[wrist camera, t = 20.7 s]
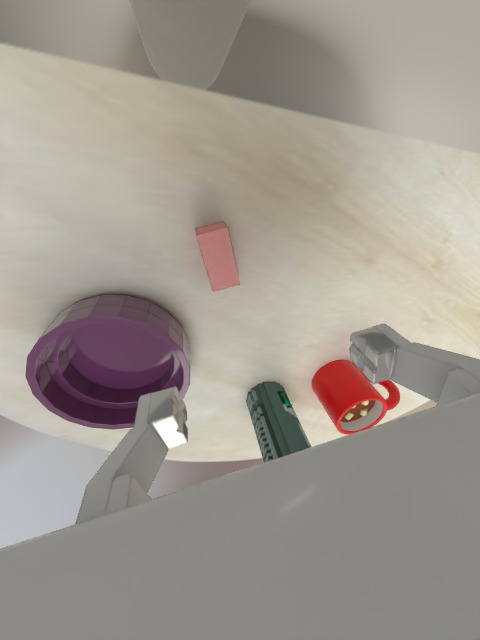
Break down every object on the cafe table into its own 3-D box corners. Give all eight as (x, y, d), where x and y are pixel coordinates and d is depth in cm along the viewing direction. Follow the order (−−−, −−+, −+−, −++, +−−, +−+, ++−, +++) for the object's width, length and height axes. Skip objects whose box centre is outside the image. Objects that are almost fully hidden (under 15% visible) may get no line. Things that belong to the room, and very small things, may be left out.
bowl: (18, 314, 27) (-16, 345, 22) (163, 275, 28) (160, 297, 23) (93, 407, 35) (80, 443, 30) (202, 375, 36) (206, 405, 31)
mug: (374, 382, 45) (407, 419, 39) (311, 399, 44) (334, 440, 37) (381, 349, 41) (420, 383, 34) (312, 366, 40) (338, 406, 33)
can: (278, 407, 43) (319, 505, 31) (244, 409, 42) (272, 514, 29) (286, 381, 40) (336, 478, 28) (250, 382, 39) (285, 485, 26)
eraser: (194, 228, 26) (196, 235, 23) (222, 221, 26) (227, 227, 23) (210, 281, 29) (213, 292, 27) (235, 274, 29) (240, 284, 27)
